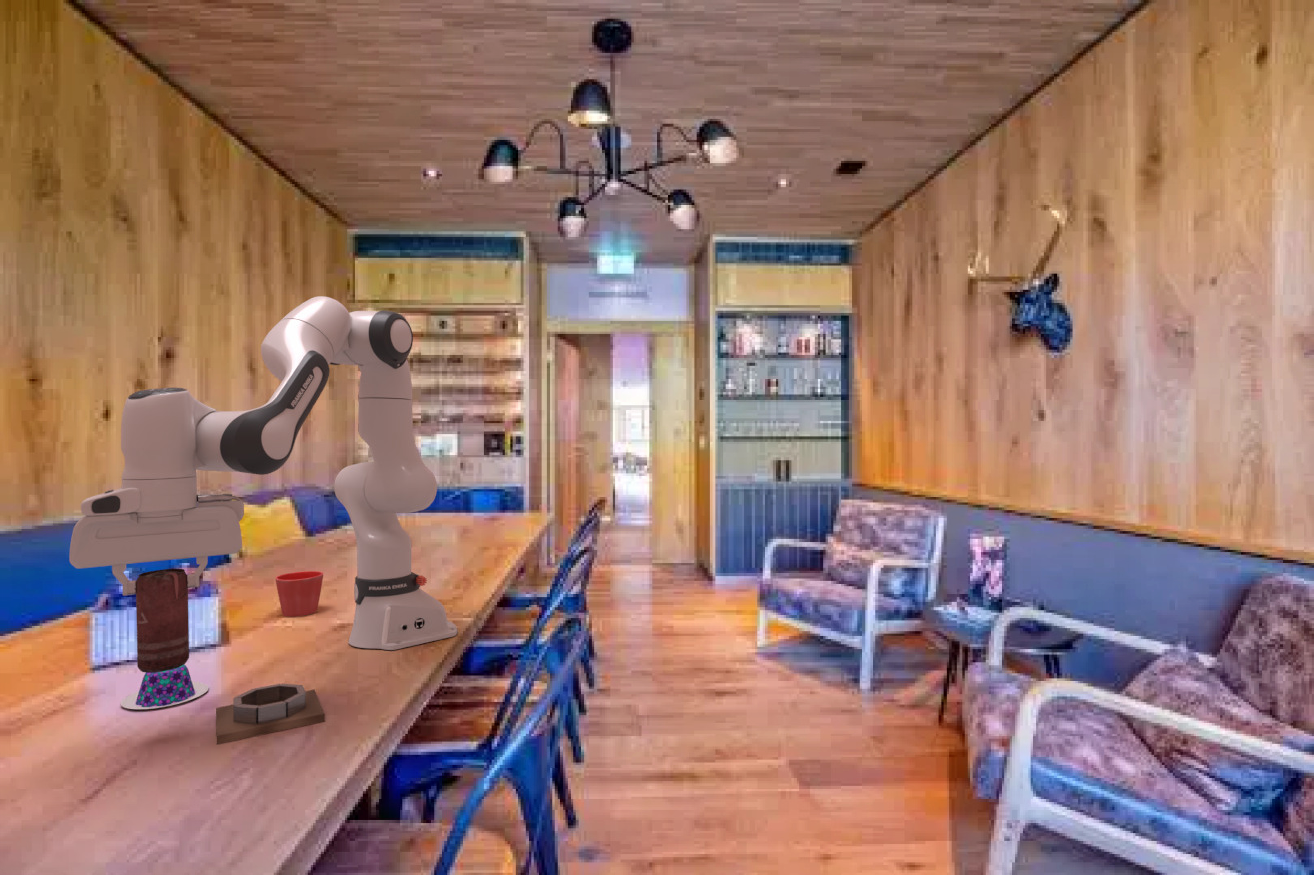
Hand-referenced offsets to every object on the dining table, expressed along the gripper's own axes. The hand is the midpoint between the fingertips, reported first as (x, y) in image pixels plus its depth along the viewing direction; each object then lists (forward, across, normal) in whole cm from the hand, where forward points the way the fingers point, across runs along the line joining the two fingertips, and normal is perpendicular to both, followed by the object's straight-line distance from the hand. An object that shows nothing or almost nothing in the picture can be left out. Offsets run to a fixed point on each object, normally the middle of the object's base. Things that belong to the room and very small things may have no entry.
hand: (162, 590), depth 97 cm
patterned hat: (+22, +1, -18) cm, 28 cm away
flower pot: (+23, -24, -66) cm, 74 cm away
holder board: (+22, -13, +2) cm, 26 cm away
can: (+11, 0, 0) cm, 11 cm away
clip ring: (+21, -13, +2) cm, 25 cm away
